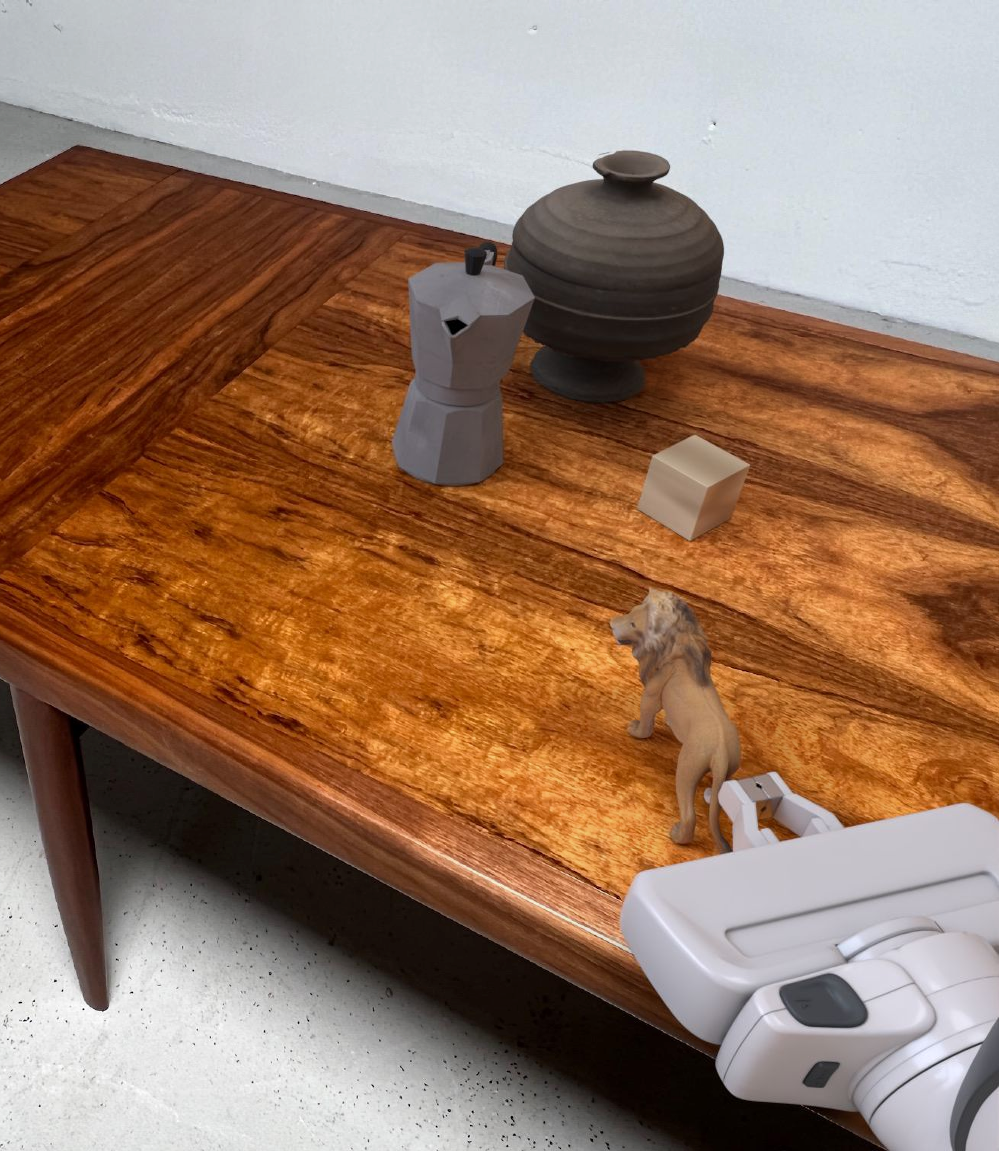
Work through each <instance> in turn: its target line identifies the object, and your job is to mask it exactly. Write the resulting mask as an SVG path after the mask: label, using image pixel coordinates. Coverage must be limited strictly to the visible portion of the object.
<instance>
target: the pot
mask: <svg viewBox="0 0 999 1151" xmlns="http://www.w3.org/2000/svg"><path fill="white" fill-rule="evenodd" d="M609 153H610V151H607V152H603V153H600V154H598V156H601V155H604V156H602V157H599V158H597V159H595V160H594V161H593V162H592V169H593V170H594V171H595V172H596V173H597V174H598V175H599V176H602V178H598V179H595V178H594V179H587V180H583V181H578V182H575V183H570V184H567V185H563V186H560V187H558V188H555V189H554V190H552V191H551V192H549V193H547V194H545V195H543V196H542V197H540V198H538V200H536V201H535V202H534V203H532V204H530V206H528V207H527V208H526V209H525V211H524V212H523V213H522V215H520V217H519V218H518V219H517V220H516V222H515V224H514V227H513V230H512V234H511V235H512V237H511V238H512V239H511V240H512V241H511V246H510V249H508V251H506V254H505V256H504V260H503V269H505V270H507V271H510V272H513V273H516V274H519V275H522V276H523V277H524V279H525V281H526V282H527V284H528V286H529V288H530V290H531V291H532V293H533V295H534V297H535V299H534V301H533V304H532V307H531V310H530V313H529V316H528V318H527V321H526V324H525V327H524V330H523V333H522V334H524V336H525V337H527V338H529V339H532V341H534V343H535V344H540V345H542V347H540V348H539V350H538V351H537V352H536V353H535V354H534V356H532V359H531V361H530V375H531V376H532V378H533V380H534V381H537V383H538V384H539V386H542V387H543V388H545V389H546V390H548V391H550V392H551V393H554V394H557V395H558V396H561V397H564V398H566V399H570V400H572V401H573V400H576V401H579V402H583V403H584V402H585V403H596V404H607V403H617V402H621V401H626V400H628V399H631V398H633V397H635V396H637V395H638V394H640V393H641V392H642V391H643V390H644V388H645V381H646V373H645V371H644V368H643V365H642V364H641V363H640V362H639V361H644V360H649V359H656V358H660V357H662V356H667V355H671V354H672V353H675V352H677V351H680V349H683V348H687V347H688V346H689V345H690V344H691V343H693V342H695V341H696V340H697V339H698V338H699V336H700V334H701V333H702V331H703V328H704V326H705V325H706V323H707V322H709V320H710V318H711V317H712V315H713V312H714V305H715V300H716V298H717V297H718V294H719V290H720V282H721V277H722V271H723V260H724V257H725V246H724V239H723V236H722V234H721V233H720V231H719V229H718V227H717V225H716V223H715V222H714V220H713V219H711V217H710V216H709V214H708V213H707V212H706V211H705V210H704V209H703V208H702V207H701V206H699V205H698V204H697V202H695V201H694V200H693V199H692V198H691V197H689V196H687V195H685V194H683V193H682V192H679V191H677V190H675V189H674V188H671V187H669V186H667V185H665V184H661V183H657V182H655V181H657V180H659V179H663V178H664V177H666V176H668V175H669V172H670V170H671V164H670V163H669V162H670V161H668V159H666V158H664V157H663V156H661V155H658V154H656V153H652V152H647V151H641V150H632V149H631V150H629V149H627V150H626V149H623V150H616V151H615V152H614V153H611V154H609ZM638 360H639V361H638Z"/></svg>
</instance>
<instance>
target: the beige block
mask: <svg viewBox="0 0 999 1151" xmlns="http://www.w3.org/2000/svg"><path fill="white" fill-rule="evenodd" d="M750 467H751V464H750V463H748V462H746V461H744V460H743V459H741V458H739V457H737V456H735V455H733V454H731V453H730V452H728V451H726V450H724V449H723V448H721V447H718V445H717V446H716V445H715V444H713V443H711V442H710V441H708V440H706V439H704V438H702V437H700V436H698V435H697V434H693V435H691V436H689V437H687V438H685V439H683V440H681V441H679V442H676V443H675V444H673V445H671V446H669V447H667V448H665V449H663V450H661V451H659V452H657V453H655V454H653V455H651V458H650V462H649V465H648V470H647V473H646V477H645V480H644V482H643V483H644V484H643V487H642V491H641V493H640V497H639V501H638V504H637V507H636V509H637V510H638V511H640V512H641V513H643V514H645V515H647V516H648V517H650V518H651V519H653V520H655V521H656V522H658V523H660V524H661V525H663V526H665V527H666V528H668V529H669V530H670V531H672V532H674V533H676V534H677V535H678V536H681V537H682V538H684V539H685V540H687V541H689V542H691V541H693V540H695V539H697V538H699V537H700V536H703V535H704V534H706V533H707V532H709V531H711V530H713V529H715V528H717V527H718V526H721V525H722V524H724V523H726V522H727V521H729V520H731V519H732V518H733V515H734V513H735V510H736V507H737V504H738V501H739V498H740V495H741V493H742V490H743V487H744V484H745V482H746V479H747V477H748V474H749V471H750Z"/></svg>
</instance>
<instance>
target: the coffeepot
mask: <svg viewBox="0 0 999 1151" xmlns="http://www.w3.org/2000/svg"><path fill="white" fill-rule="evenodd" d="M463 253H464V262H463V261H461V262H459V261H458V262H434V263H433V264H431V265H429V266H428V267H426V268H424V269H422V270H420V271H419V272H417V273H415V274H413V275H412V276H410V277H408V278H407V282H408V301H409V303H408V304H409V324H410V326H409V328H410V347H411V359H412V363H413V366H414V369H415V371H414V372H415V373H414V377H413V379H412V380H411V381H410V383H409V384H408V385H409V386H408V387H407V388H408V389H407V392H406V395H405V398H404V402H403V404H402V408H401V411H400V415H399V417H398V421H397V424H396V427H395V431H394V434H393V436H392V440H391V445H392V448H393V456H394V459H395V461H396V464H397V466H398V468H400V469H401V470H402V471H404V472H405V473H407V474H408V475H410V476H411V477H413V478H415V479H417V480H420V481H422V482H425V483H429V484H432V485H437V486H444V487H445V486H446V487H462V486H469V485H474V484H475V485H476V484H478V483H481V482H483V481H485V480H487V479H488V478H490V477H492V475H494V473H496V471H497V470H498V468H499V467H501V466H502V465H503V464H504V427H503V426H504V421H503V397H502V396H503V395H502V392H501V389H500V388H501V380H502V379H503V378H505V376H507V375H508V374H509V372H510V369H511V366H512V364H513V361H514V358H515V355H516V352H517V349H518V347H519V344H520V341H521V338H522V335H523V334H524V333H523V330H524V327H525V324H526V321H527V318H528V316H529V313H530V310H531V307H532V304H533V301H534V299H535V297H534V295H533V293H532V291H531V290H530V288H529V286H528V284H527V282H526V281H525V279H524V277H523V276H522V275H519V274H516V273H513V272H510V271H507V270H505V269H504V268H501V267H499V266H496V264H497V260H498V249H497V245H496V244H495V243H493V242H492V241H485V242H481V243H480V244H479V245H478V247H468V248H466V249H465V250H464V252H463Z"/></svg>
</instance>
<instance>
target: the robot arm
mask: <svg viewBox="0 0 999 1151" xmlns="http://www.w3.org/2000/svg"><path fill="white" fill-rule="evenodd" d="M718 800H719V803H720V805H721V806H720V807H721V808H722V810H723V811H724V812H725V814H726V815H727V817H728V818H729V820H730V821H731V823H732V826H731V828H732V830H731V831H732V850H733V852H730V853H725V854H721V855H720V854H716V855H712V856H708V857H707V856H706V857H702V858H698V859H693V860H688V861H683V862H679V863H674V864H670V865H666V866H660V867H656V868H651V869H650V868H649V869H645V870H642V871H639V872H638V873H637V874H636V875H635V876H634V878H632V882H631V884H630V885H629V887H628V890H627V892H626V894H625V897H624V898H623V903H622V906H621V909H620V915H619V929H620V932H621V934H622V938H623V939H624V941H625V943H626V944H627V947H628V948H629V950H630V952H631V953H632V955H633V957H634V958H635V960H636V962H637V963H638V965H639V967H640V969H641V970H642V972H643V973H644V975H645V976H646V978H647V979H648V981H649V982H650V984H651V985H652V987H653V988H654V990H655V991H656V993H657V994H658V996H659V997H660V999H661V1001H663V1003H664V1004H665V1006H666V1007H667V1008H668V1010H669V1011H670V1012H671V1013H672V1015H673V1016H674V1017H675V1019H676V1020H677V1021H678V1022H679V1023H680V1024H681V1025H682V1026H683V1027H684V1028H685V1029H686V1030H688V1031H689V1032H690V1033H691V1034H692V1035H694V1036H695V1037H697V1038H699V1039H700V1040H701V1041H705V1042H707V1043H710V1044H714V1045H718V1046H720V1047H719V1050H718V1053H717V1056H716V1059H715V1069H716V1072H717V1074H718V1076H719V1078H720V1080H721V1081H722V1082H721V1083H723V1085H724V1086H725V1088H726V1090H727V1091H729V1093H730V1094H731V1095H732V1096H734V1097H736V1098H738V1099H740V1100H745V1101H751V1102H762V1103H763V1102H764V1103H776V1104H787V1105H788V1104H789V1105H801V1106H810V1107H818V1108H824V1109H825V1108H826V1109H833V1110H838V1111H844V1112H853V1113H860V1115H861V1116H862V1117H863V1120H864V1121H865V1122H866V1123H867V1125H868V1127H869V1129H870V1130H871V1131H872V1133H873V1134H874V1136H875V1137H876V1139H878V1141H879V1142H880V1143H881V1144H882V1145H883V1146H884V1147H885V1148H886V1149H887V1151H999V819H998V818H997V817H996V815H994V814H992V813H990V812H989V811H987V810H984V809H983V808H980V807H979V806H977V805H974V804H971V803H969V802H960V803H955V804H951V805H946V806H941V807H936V808H932V809H928V810H922V811H918V812H914V813H908V814H904V815H899V816H894V817H889V818H885V819H880V820H875V821H871V822H866V823H861V824H857V825H852V826H847V827H845V826H844V825H843V823H841V821H840V820H839V819H838V818H837V816H836V815H835V813H833V812H831V811H829V810H827V809H826V808H824V807H822V806H820V805H818V804H816V803H814V802H812V801H811V800H809V799H807V798H805V797H803V796H801V795H799V794H798V793H794V792H793V791H792V790H791V789H790V787H789V786H788V785H787V783H786V782H785V781H784V780H783V778H782V777H781V776H780V775H779V773H778V772H776V771H770V772H769V771H768V772H764V773H761V774H756V775H751V776H746V777H741V778H736V779H731V780H730V781H726V782H723V784H722V787H721V789H720V791H719V793H718ZM769 818H772V819H773V820H775V821H776V822H778V823H779V824H781V825H782V826H784V827H785V828H787V829H788V830H789V831H791V832H793V833H794V834H796V835H797V836H798V837H795V838H791V839H786V840H782V841H781V840H780V839H778V837H777V836H776V834H775V832H773V830H772V829H771V828H769V827H764V828H761V829H759V824H758V821H759V820H763V819H764V820H765V819H769Z"/></svg>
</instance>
